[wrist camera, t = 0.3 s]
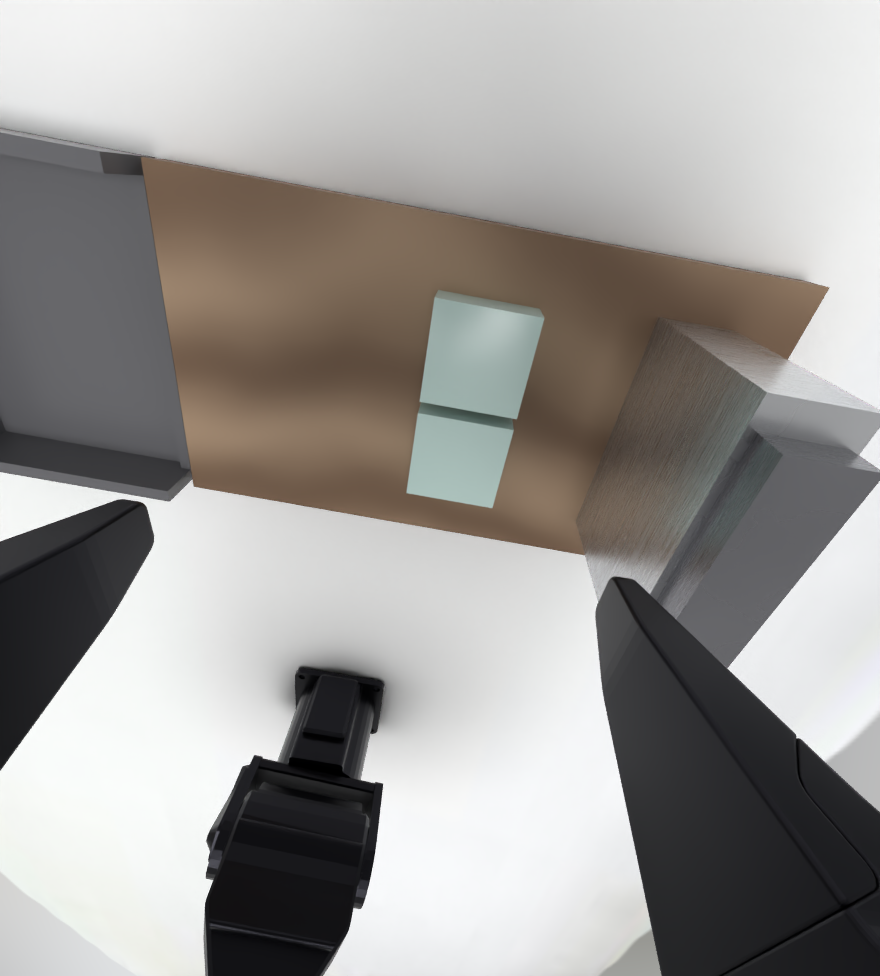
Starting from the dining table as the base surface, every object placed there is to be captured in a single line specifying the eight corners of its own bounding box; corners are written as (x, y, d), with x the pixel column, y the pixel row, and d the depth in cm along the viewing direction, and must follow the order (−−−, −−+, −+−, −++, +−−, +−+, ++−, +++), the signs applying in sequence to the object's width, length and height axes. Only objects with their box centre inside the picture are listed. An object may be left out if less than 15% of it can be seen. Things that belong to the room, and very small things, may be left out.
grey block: (633, 531, 23) (709, 701, 15) (575, 521, 23) (622, 686, 15) (734, 331, 18) (930, 437, 10) (658, 316, 18) (796, 412, 10)
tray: (201, 470, 25) (169, 501, 22) (5, 436, 25) (-49, 463, 22) (154, 157, 17) (99, 150, 15) (-128, 103, 17) (-234, 88, 15)
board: (656, 550, 25) (665, 569, 24) (208, 471, 25) (193, 486, 24) (805, 281, 18) (829, 287, 17) (165, 159, 17) (140, 156, 16)
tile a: (491, 489, 22) (492, 508, 21) (410, 475, 22) (406, 493, 21) (511, 414, 20) (513, 430, 19) (422, 398, 20) (417, 413, 19)
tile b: (514, 404, 20) (516, 419, 19) (423, 387, 20) (419, 401, 19) (539, 308, 18) (544, 318, 16) (438, 289, 18) (434, 297, 16)
